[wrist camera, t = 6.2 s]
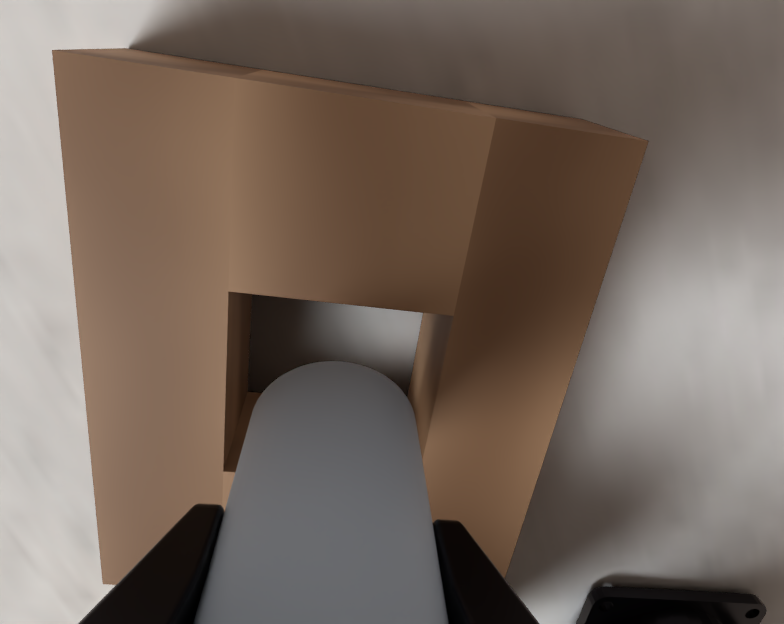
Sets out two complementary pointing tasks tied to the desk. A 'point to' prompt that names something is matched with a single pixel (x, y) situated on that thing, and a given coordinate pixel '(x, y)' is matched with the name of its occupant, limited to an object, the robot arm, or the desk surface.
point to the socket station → (322, 269)
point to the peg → (327, 509)
